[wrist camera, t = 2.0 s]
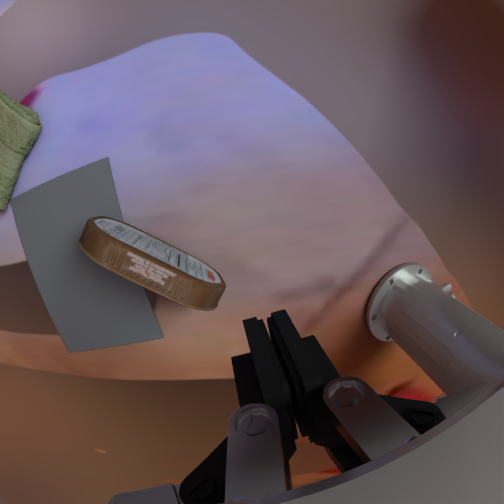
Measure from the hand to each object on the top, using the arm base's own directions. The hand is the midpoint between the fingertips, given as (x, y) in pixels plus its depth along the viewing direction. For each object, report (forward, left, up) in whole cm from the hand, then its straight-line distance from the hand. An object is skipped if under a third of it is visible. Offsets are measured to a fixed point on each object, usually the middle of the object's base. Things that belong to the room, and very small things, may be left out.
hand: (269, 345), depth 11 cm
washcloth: (+28, -20, -21) cm, 40 cm away
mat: (+18, 0, -21) cm, 28 cm away
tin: (+8, 0, -21) cm, 22 cm away
